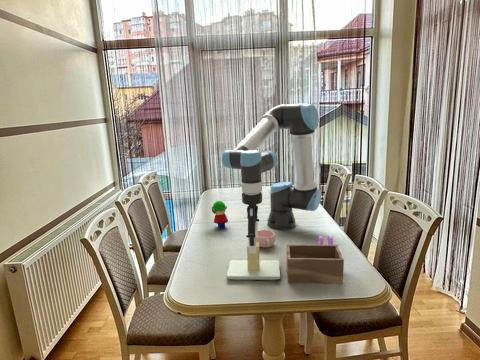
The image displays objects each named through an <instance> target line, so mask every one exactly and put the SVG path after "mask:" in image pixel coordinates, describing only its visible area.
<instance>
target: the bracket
mask: <svg viewBox="0 0 480 360" xmlns="http://www.w3.org/2000/svg"><path fill="white" fill-rule="evenodd" d="M317 243H318V244H317V245H324V237H323V235H319V236H318V242H317ZM327 245H334V237H333V235H332V236H331V235H328V236H327Z"/></svg>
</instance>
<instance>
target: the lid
mask: <svg viewBox="0 0 480 360" xmlns="http://www.w3.org/2000/svg"><path fill="white" fill-rule="evenodd" d="M246 245H247V246H246V251H247V253H246V254H247V255H246V256H247V259H244V260H243V259H241V260H239V259H230V261H229V264H228V269H227V271H226V279H229V280H230V279H231V280H233V281H235V280H240V281H241V280H244V281H245V280H246V281H249V280H253V281H257V280H258V281H277V280H280V279H281V273H280V261H279V260H274V259H273V260H270V259H269V260H268V259H267V260H265V259H263V260H262V259H261V258H260V247H259V242H256V253H249V243H248V242H247V244H246ZM260 259H261V260H260Z"/></svg>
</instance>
